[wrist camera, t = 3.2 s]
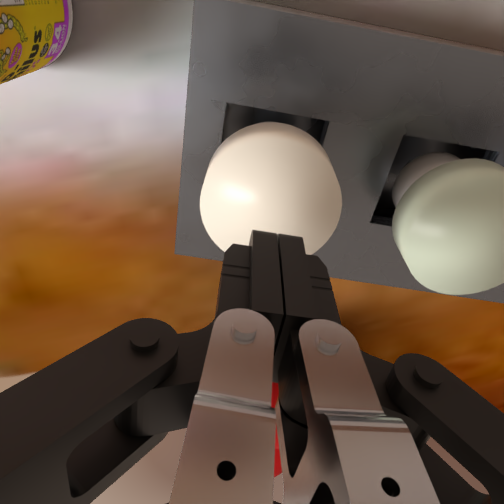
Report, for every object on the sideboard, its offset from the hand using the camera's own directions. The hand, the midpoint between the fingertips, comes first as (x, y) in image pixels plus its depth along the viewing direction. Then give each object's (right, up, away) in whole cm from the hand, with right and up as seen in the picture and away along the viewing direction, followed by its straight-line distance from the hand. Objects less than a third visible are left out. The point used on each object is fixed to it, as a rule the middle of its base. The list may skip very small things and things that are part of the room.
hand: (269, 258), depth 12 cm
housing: (+8, +7, +12) cm, 16 cm away
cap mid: (+8, +3, +7) cm, 11 cm away
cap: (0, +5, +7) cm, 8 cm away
